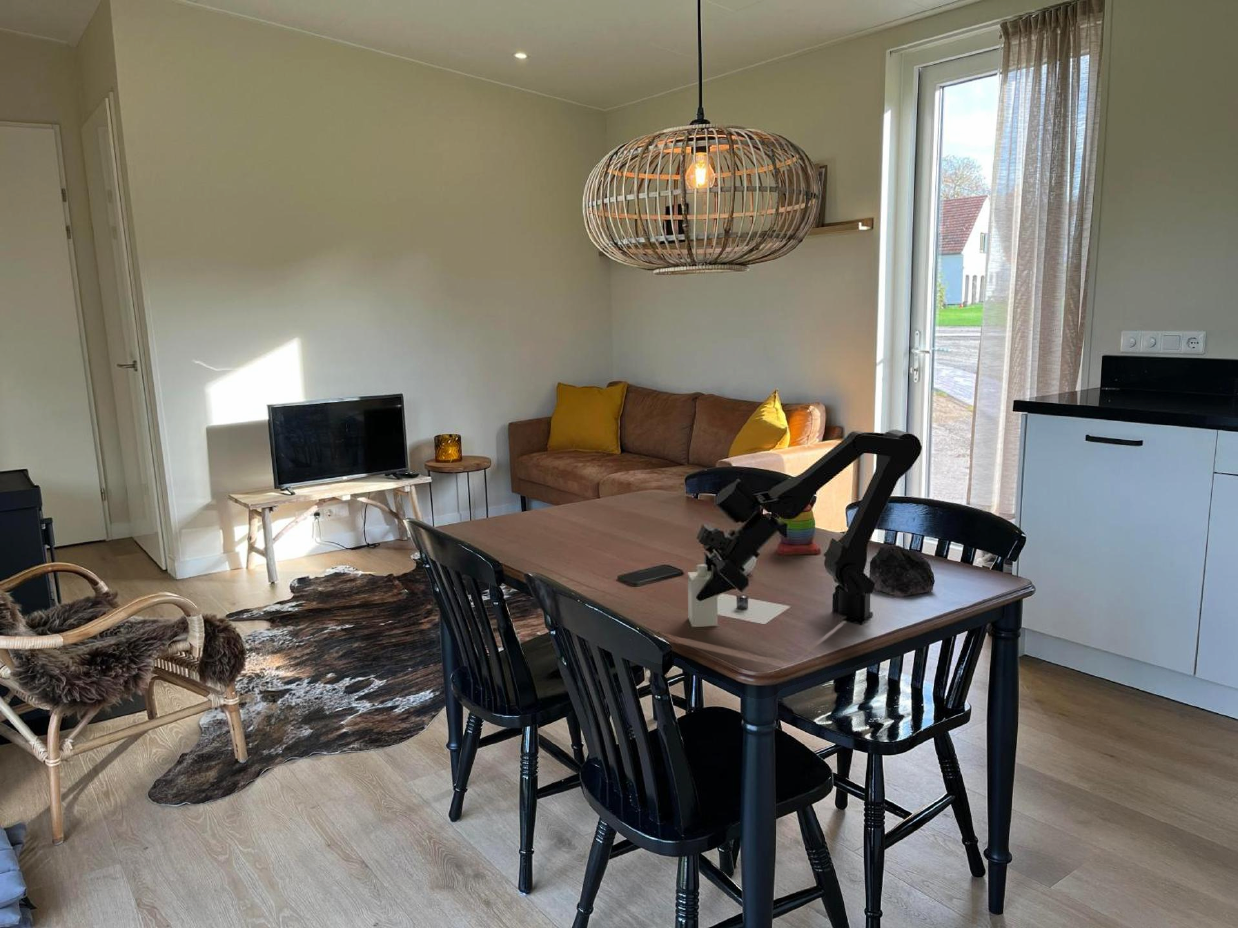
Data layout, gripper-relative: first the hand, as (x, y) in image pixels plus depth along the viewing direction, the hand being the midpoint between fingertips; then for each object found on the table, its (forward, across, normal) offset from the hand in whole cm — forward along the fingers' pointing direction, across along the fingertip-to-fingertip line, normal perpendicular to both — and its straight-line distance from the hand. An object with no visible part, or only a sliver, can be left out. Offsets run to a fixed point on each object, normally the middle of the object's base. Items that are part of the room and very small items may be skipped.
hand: (695, 594), depth 170 cm
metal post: (-4, -6, +12) cm, 14 cm away
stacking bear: (-20, -50, +29) cm, 62 cm away
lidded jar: (-6, -33, +15) cm, 37 cm away
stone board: (-3, -6, +12) cm, 14 cm away
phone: (+9, -34, +1) cm, 35 cm away
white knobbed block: (+4, 0, +6) cm, 7 cm away
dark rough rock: (-30, -17, +39) cm, 52 cm away
